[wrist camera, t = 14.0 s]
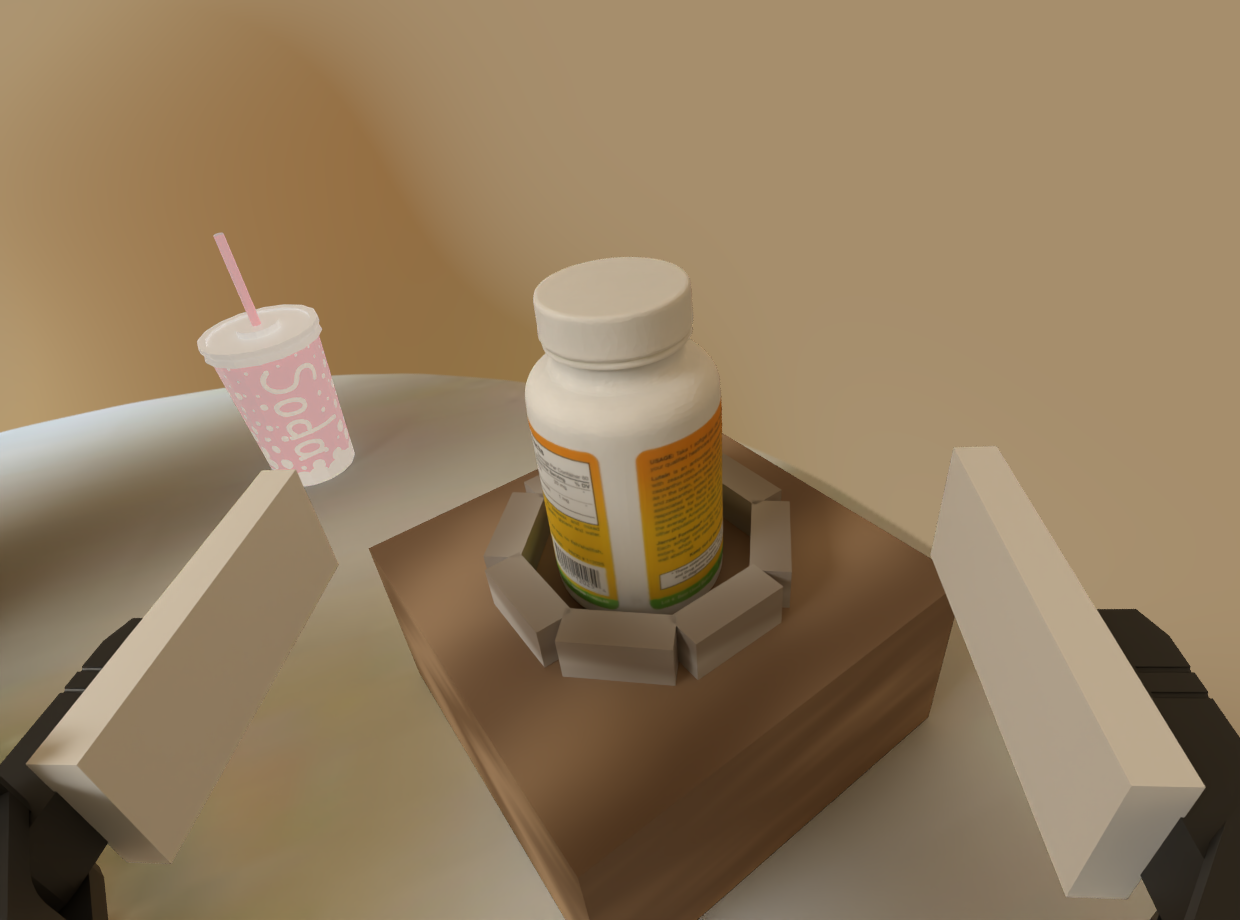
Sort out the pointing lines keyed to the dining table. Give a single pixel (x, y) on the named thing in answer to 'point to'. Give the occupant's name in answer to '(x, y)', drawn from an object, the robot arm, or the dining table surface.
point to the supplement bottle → (627, 436)
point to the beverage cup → (280, 383)
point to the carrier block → (670, 685)
